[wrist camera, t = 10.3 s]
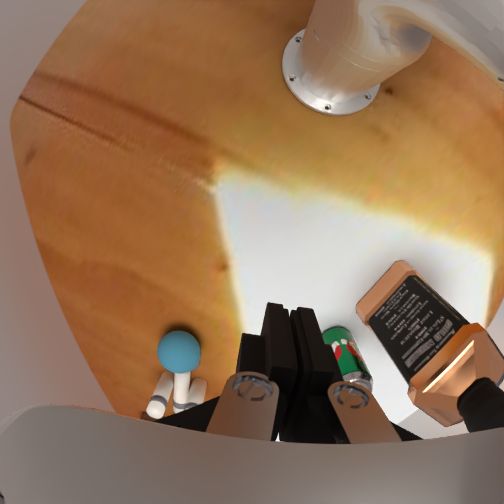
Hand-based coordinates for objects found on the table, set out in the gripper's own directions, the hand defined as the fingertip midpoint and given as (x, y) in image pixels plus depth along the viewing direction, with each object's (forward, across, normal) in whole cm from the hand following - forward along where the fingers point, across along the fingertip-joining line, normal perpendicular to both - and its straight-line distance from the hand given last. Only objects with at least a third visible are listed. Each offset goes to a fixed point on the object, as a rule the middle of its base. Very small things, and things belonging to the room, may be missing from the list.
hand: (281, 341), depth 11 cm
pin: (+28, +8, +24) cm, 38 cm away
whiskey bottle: (+29, -21, +9) cm, 37 cm away
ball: (+26, +8, +20) cm, 34 cm away
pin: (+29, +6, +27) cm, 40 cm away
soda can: (+29, -13, +16) cm, 36 cm away
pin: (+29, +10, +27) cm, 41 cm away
